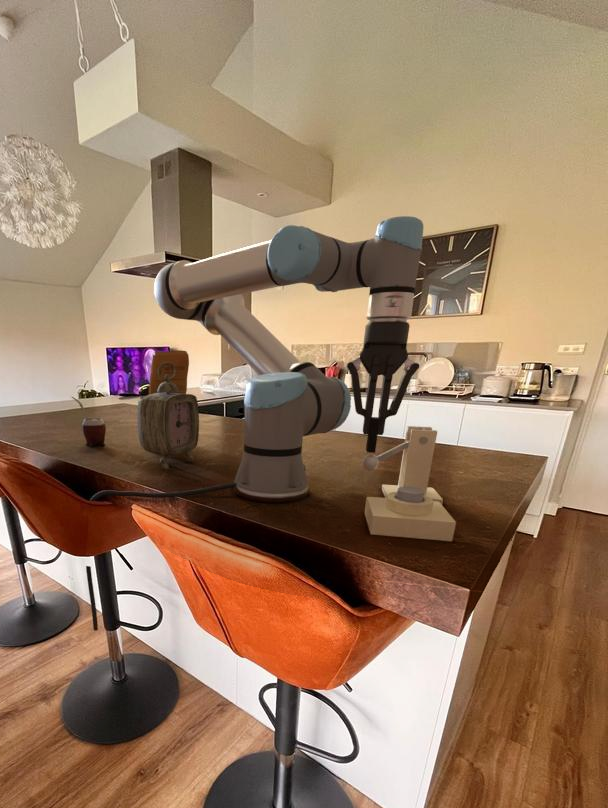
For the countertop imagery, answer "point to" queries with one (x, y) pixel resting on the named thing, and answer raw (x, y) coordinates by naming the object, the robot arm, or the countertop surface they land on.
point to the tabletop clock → (168, 420)
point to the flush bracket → (417, 462)
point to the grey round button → (410, 494)
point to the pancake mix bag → (169, 370)
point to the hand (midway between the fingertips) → (370, 451)
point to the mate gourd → (93, 429)
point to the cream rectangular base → (409, 518)
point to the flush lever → (383, 456)
